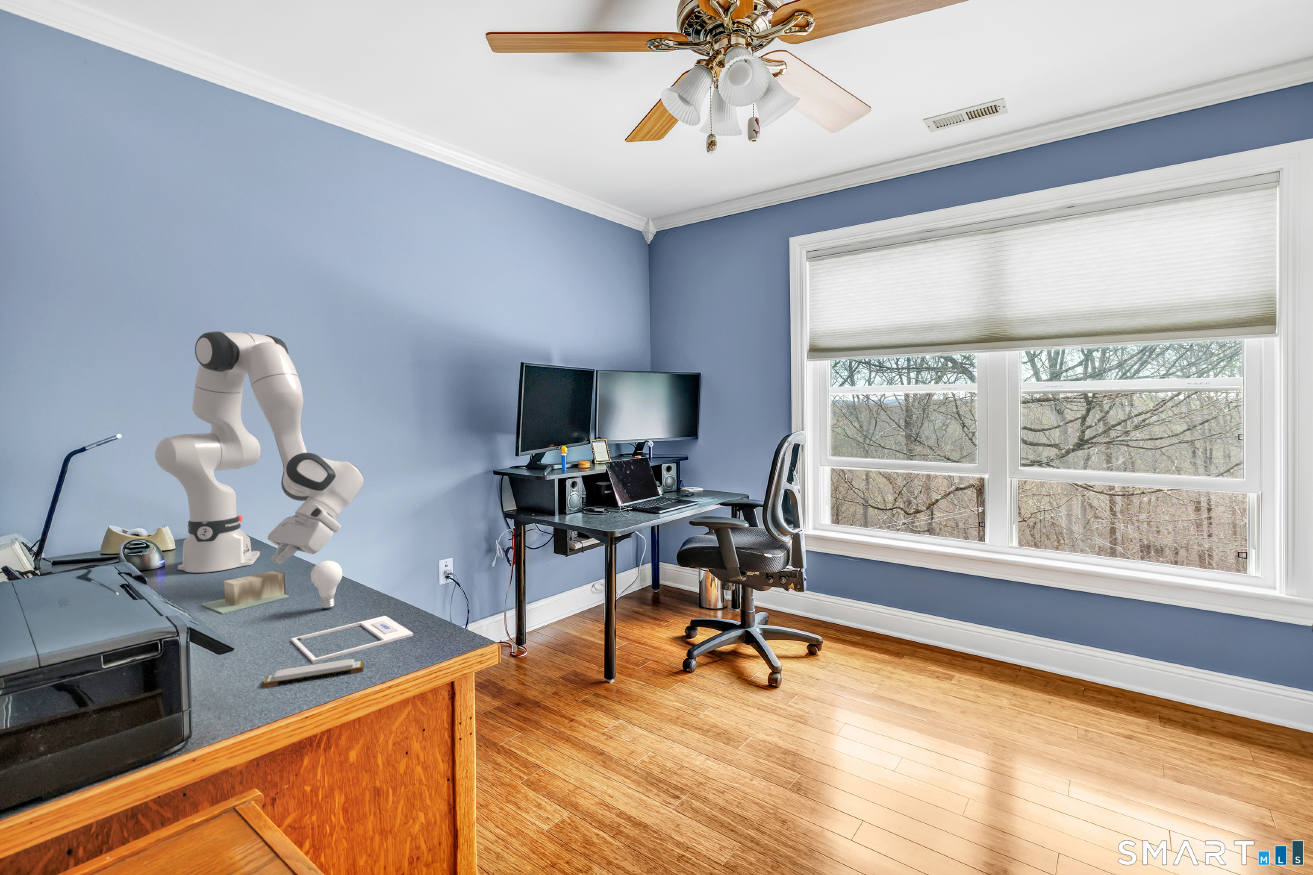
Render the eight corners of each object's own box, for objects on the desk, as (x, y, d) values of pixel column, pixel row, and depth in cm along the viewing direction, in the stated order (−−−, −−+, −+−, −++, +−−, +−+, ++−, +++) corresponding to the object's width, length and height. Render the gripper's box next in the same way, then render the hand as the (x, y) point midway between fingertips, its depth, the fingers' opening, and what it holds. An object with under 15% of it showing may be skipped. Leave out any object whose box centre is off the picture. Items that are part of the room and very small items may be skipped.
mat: (267, 589, 151) (267, 588, 151) (289, 597, 145) (289, 595, 145) (201, 605, 140) (201, 604, 140) (222, 613, 134) (222, 612, 134)
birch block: (274, 570, 150) (224, 581, 141) (284, 573, 147) (233, 584, 138) (275, 589, 150) (225, 601, 141) (285, 593, 148) (234, 605, 138)
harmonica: (363, 667, 106) (363, 655, 106) (362, 673, 104) (362, 662, 103) (267, 682, 101) (266, 671, 100) (263, 690, 98) (263, 678, 98)
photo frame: (413, 632, 120) (312, 659, 107) (413, 637, 120) (313, 665, 107) (385, 614, 130) (291, 637, 118) (385, 619, 130) (291, 642, 118)
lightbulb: (319, 615, 132) (317, 565, 132) (306, 609, 136) (305, 561, 136) (348, 607, 137) (347, 560, 137) (335, 602, 141) (334, 556, 141)
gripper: (285, 506, 159) (246, 549, 152) (326, 513, 148) (285, 560, 140) (303, 520, 163) (265, 563, 156) (344, 527, 152) (306, 574, 144)
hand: (275, 562), depth 148 cm, fingers closed
